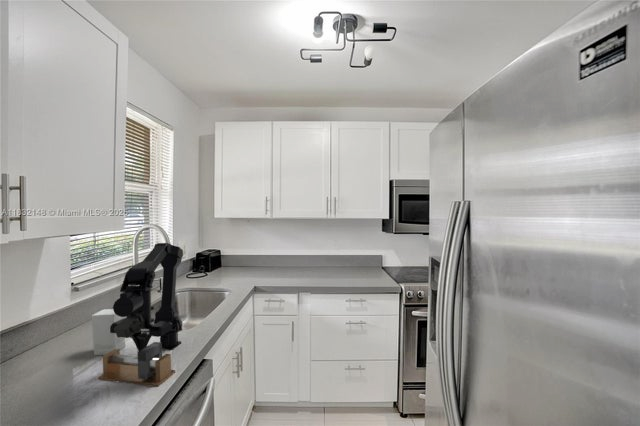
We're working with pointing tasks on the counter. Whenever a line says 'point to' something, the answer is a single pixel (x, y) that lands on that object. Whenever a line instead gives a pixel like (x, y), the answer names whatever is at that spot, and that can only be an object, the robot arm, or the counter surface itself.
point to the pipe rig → (134, 369)
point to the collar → (144, 357)
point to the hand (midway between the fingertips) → (141, 353)
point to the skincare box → (105, 332)
